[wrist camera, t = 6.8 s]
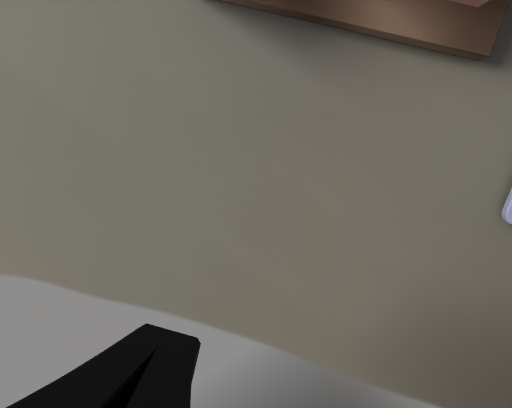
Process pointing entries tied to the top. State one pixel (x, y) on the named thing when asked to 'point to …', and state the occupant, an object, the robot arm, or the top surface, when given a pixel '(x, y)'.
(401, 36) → the cargo strip
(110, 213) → the top surface
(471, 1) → the terracotta block
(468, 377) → the top surface
